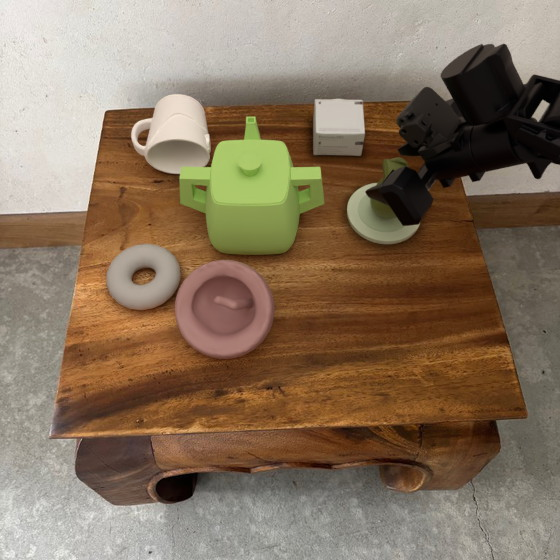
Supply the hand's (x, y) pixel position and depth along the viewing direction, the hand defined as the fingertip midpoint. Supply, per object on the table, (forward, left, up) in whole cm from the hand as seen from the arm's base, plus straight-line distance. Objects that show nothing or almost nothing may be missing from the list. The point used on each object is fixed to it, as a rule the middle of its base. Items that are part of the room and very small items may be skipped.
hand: (383, 172), depth 75 cm
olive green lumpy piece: (-2, +1, -7) cm, 8 cm away
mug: (+33, -5, -8) cm, 34 cm away
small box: (+8, -13, -8) cm, 18 cm away
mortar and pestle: (+17, +24, -8) cm, 30 cm away
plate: (-1, +1, -8) cm, 8 cm away
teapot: (+18, +4, -8) cm, 20 cm away
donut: (+30, +19, -8) cm, 36 cm away
